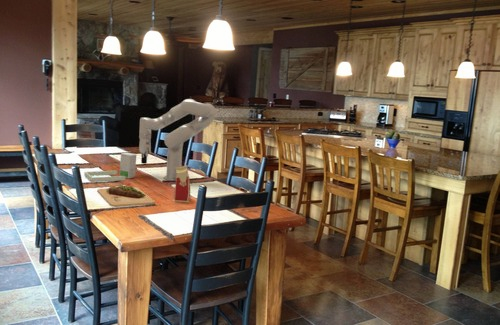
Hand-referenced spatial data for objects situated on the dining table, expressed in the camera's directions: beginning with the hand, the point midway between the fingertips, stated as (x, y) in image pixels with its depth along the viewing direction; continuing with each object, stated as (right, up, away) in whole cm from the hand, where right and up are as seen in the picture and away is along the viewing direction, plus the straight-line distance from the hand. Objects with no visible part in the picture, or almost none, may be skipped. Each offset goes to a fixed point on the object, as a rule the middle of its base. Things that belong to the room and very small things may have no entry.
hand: (143, 163), depth 309 cm
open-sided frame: (-22, -9, -13) cm, 27 cm away
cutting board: (+2, -20, -54) cm, 57 cm away
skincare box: (-10, -9, -4) cm, 14 cm away
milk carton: (+33, -21, -51) cm, 64 cm away
